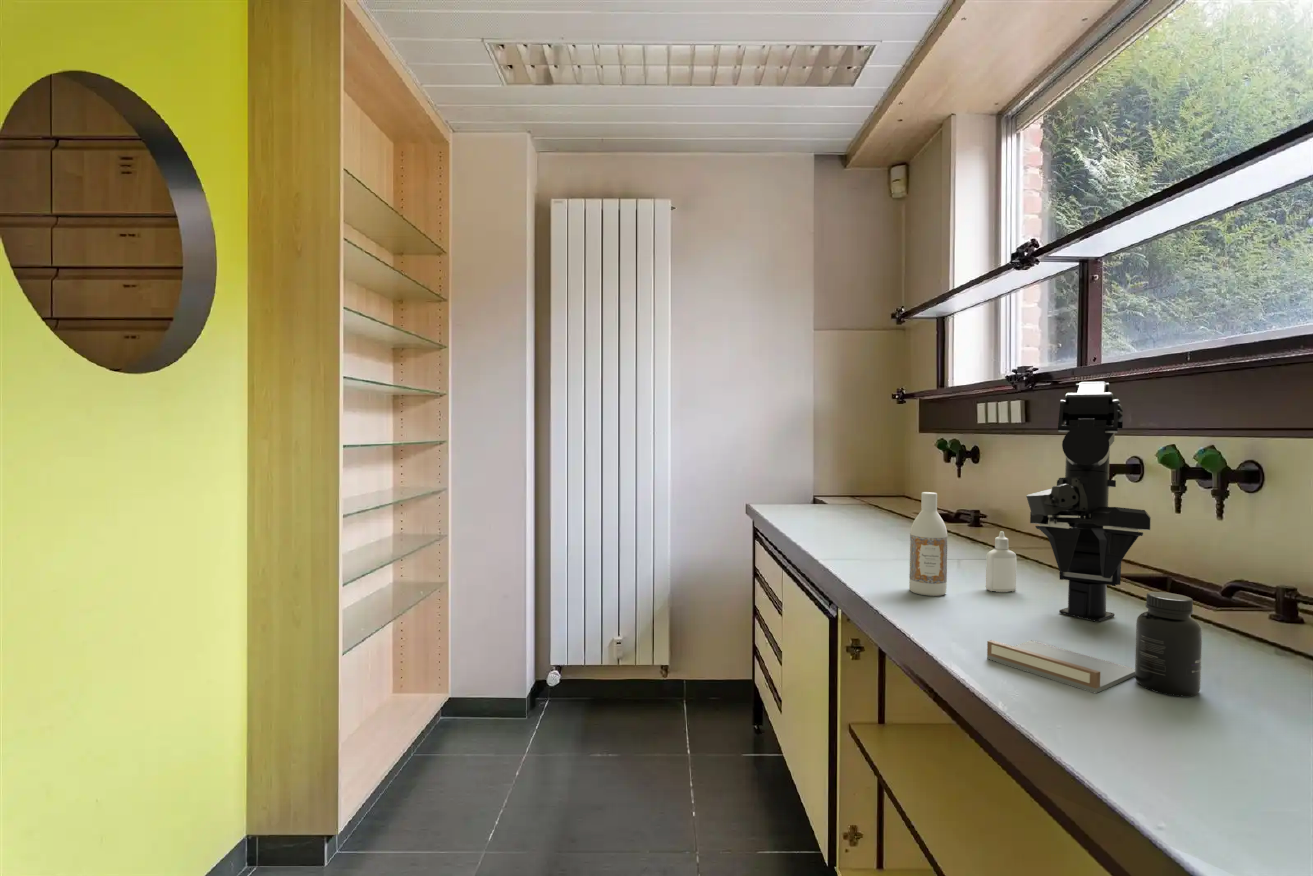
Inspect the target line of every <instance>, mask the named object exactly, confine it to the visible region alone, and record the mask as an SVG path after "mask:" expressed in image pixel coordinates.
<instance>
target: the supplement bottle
mask: <svg viewBox="0 0 1313 876" xmlns="http://www.w3.org/2000/svg"><path fill="white" fill-rule="evenodd" d="M1193 604H1194V600H1193V598H1191V597H1189V596H1186V595H1183V594H1179V593H1178V594H1177V593H1172V592H1164V591H1149V592H1147V593H1146V602H1145V604H1144V605H1145V608H1147V611H1144V612H1142V613H1141V614H1139V615H1138V616H1137V619H1136V623H1135V625H1136V626H1135V627H1136V628H1135V631H1136V632H1135V658H1134V659H1135V662H1134V663H1135V665H1134V669H1135V676H1134V678H1135V681H1136V682H1137V684H1139V685H1140V686H1141V687H1143V688H1144V689H1148V690H1150V691H1152V692H1156V693H1159V694H1163V695H1169V696H1173V697H1174V696H1175V697H1194V696H1196V695H1198V694H1199V693H1200V690H1201V677H1202V676H1201V675H1202V671H1201V670H1202V649H1203V648H1202V647H1203V646H1202V645H1203V628H1202V626H1201V625H1200V623H1199V622H1198V621H1196V620H1195V619H1194V618H1192V617H1191V615H1194V608H1193V606H1194V605H1193Z"/></svg>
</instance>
